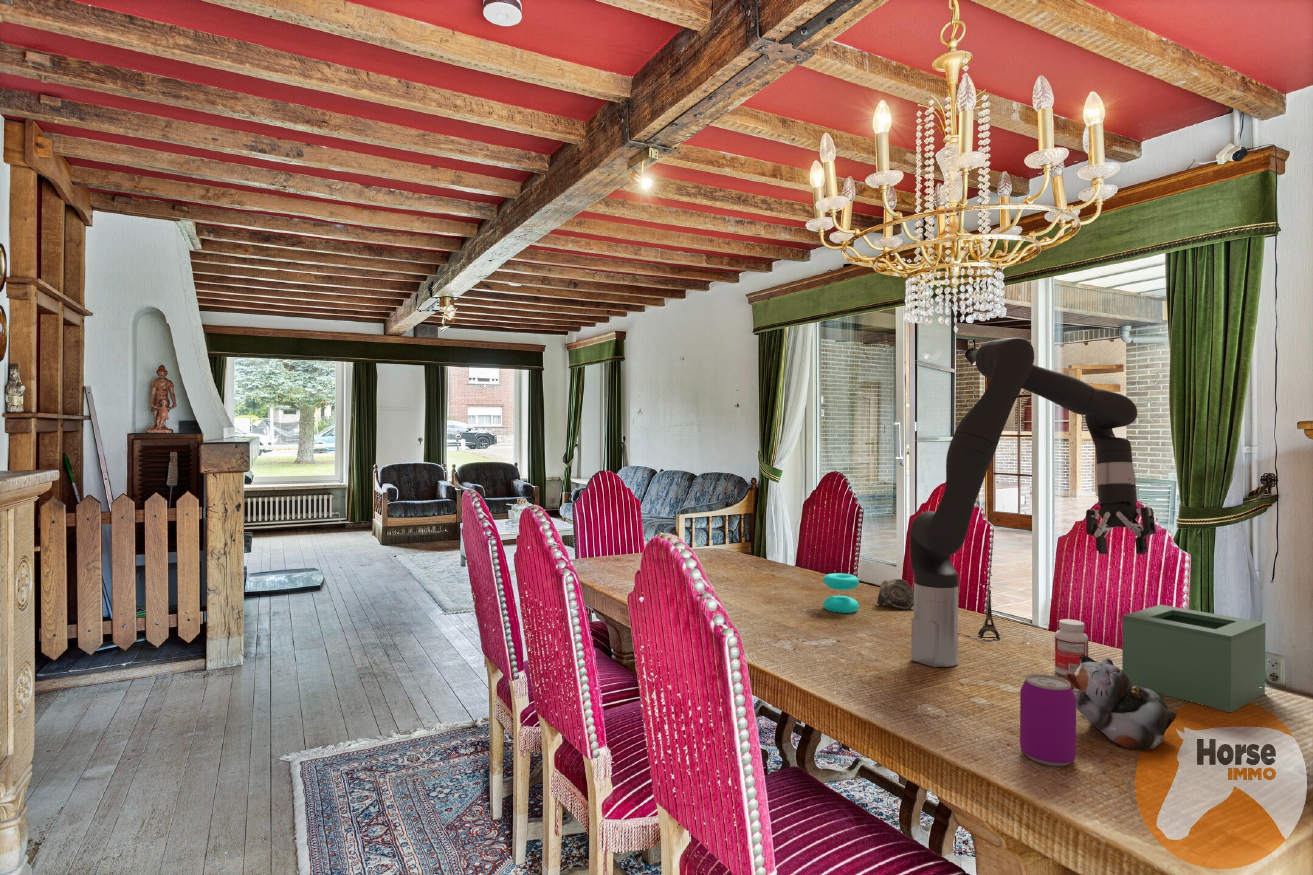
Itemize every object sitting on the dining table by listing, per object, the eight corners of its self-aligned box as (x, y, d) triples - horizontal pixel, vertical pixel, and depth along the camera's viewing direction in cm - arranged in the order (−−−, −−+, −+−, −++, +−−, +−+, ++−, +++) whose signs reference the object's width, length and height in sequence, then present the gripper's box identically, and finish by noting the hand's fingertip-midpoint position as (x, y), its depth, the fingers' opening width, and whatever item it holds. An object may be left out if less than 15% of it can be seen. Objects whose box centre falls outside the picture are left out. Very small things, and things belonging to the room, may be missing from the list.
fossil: (897, 610, 203) (884, 577, 207) (876, 619, 211) (864, 586, 215) (924, 605, 209) (911, 573, 213) (903, 614, 216) (890, 582, 220)
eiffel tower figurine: (949, 632, 185) (949, 581, 185) (978, 629, 189) (979, 579, 189) (996, 649, 171) (997, 593, 171) (1027, 644, 175) (1027, 590, 175)
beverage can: (1087, 767, 108) (1088, 688, 108) (1039, 769, 107) (1039, 689, 107) (1055, 745, 115) (1055, 671, 115) (1009, 747, 115) (1010, 672, 115)
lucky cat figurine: (1149, 759, 111) (1098, 674, 114) (1081, 760, 121) (1036, 682, 124) (1192, 713, 118) (1143, 635, 121) (1124, 718, 128) (1081, 645, 131)
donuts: (846, 580, 199) (816, 575, 207) (846, 616, 199) (816, 609, 207) (865, 575, 206) (836, 571, 213) (865, 610, 206) (835, 604, 213)
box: (1230, 712, 130) (1231, 636, 130) (1122, 684, 145) (1122, 615, 145) (1264, 693, 140) (1265, 622, 140) (1160, 668, 155) (1160, 604, 155)
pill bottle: (1066, 667, 156) (1067, 616, 156) (1094, 675, 150) (1095, 623, 150) (1048, 671, 153) (1048, 619, 153) (1075, 680, 147) (1076, 626, 147)
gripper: (1076, 484, 169) (1080, 553, 167) (1137, 479, 157) (1144, 554, 154) (1096, 486, 172) (1101, 554, 170) (1158, 481, 160) (1165, 555, 157)
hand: (1121, 554), depth 162 cm, fingers open, 8 cm apart
